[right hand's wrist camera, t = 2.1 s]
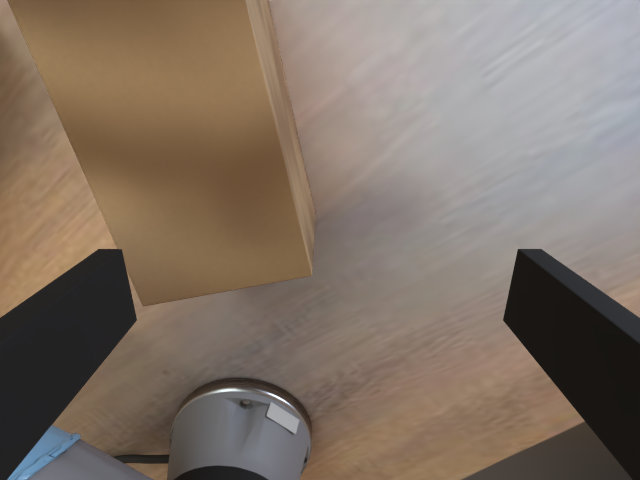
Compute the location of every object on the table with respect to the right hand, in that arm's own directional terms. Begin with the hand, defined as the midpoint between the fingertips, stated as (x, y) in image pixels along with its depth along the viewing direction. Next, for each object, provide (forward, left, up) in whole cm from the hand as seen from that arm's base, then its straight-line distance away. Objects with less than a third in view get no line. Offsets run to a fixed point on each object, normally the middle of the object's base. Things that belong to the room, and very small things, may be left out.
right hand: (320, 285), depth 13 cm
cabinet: (-4, +7, -20) cm, 21 cm away
